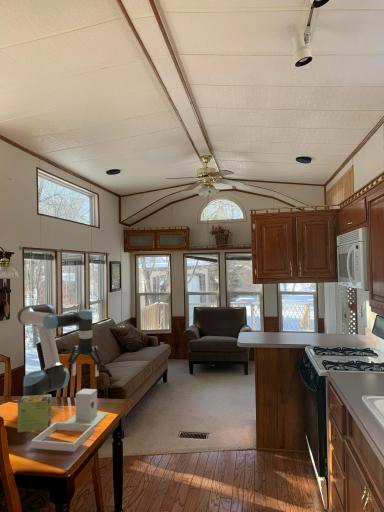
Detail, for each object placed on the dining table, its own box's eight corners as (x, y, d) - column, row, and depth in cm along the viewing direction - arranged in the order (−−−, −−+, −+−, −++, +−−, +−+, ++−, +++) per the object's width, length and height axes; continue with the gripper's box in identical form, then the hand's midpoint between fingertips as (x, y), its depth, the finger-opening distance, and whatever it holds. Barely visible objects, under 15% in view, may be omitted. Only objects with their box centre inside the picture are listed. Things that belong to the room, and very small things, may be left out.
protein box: (48, 430, 203) (48, 400, 203) (17, 432, 200) (17, 402, 201) (52, 422, 213) (51, 394, 214) (22, 424, 211) (22, 395, 211)
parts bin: (31, 448, 183) (31, 440, 183) (55, 428, 205) (55, 421, 205) (74, 451, 179) (74, 444, 179) (94, 431, 201) (94, 424, 201)
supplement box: (90, 422, 210) (90, 394, 210) (75, 420, 212) (75, 393, 212) (97, 415, 219) (97, 389, 219) (83, 414, 221) (83, 388, 221)
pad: (63, 425, 208) (63, 423, 208) (78, 413, 226) (78, 411, 226) (94, 427, 205) (94, 425, 205) (107, 414, 223) (107, 413, 223)
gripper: (61, 338, 215) (61, 376, 215) (103, 339, 211) (103, 378, 210) (68, 335, 222) (68, 372, 222) (109, 336, 218) (109, 374, 218)
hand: (85, 375), depth 216 cm, fingers open, 13 cm apart
